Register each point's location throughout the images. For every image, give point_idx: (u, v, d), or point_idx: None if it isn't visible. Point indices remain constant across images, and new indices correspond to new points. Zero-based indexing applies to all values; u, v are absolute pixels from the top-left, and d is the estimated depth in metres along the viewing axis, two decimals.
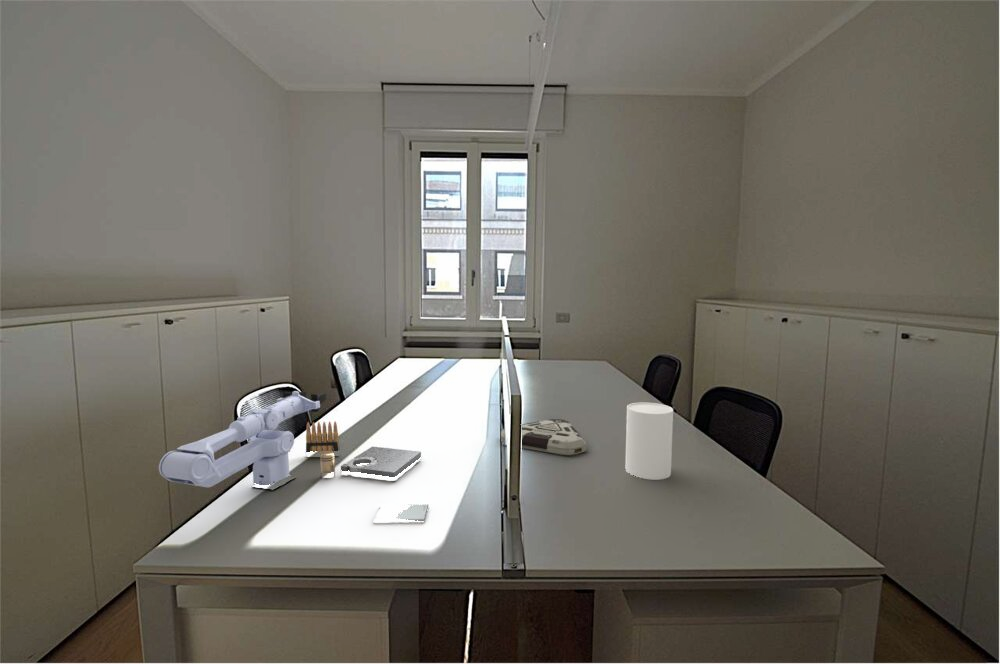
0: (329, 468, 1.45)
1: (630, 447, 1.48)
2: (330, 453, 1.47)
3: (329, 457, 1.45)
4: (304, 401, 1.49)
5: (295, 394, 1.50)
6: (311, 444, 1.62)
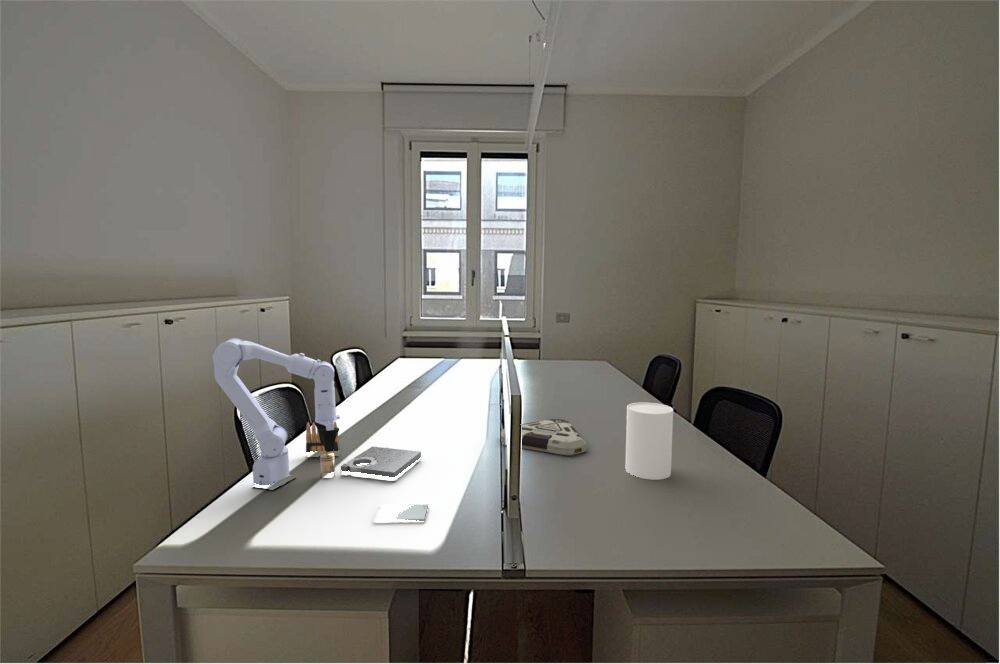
0: (329, 468, 1.45)
1: (630, 447, 1.48)
2: (330, 453, 1.47)
3: (329, 457, 1.45)
4: (331, 420, 1.43)
5: (336, 416, 1.47)
6: (311, 444, 1.62)
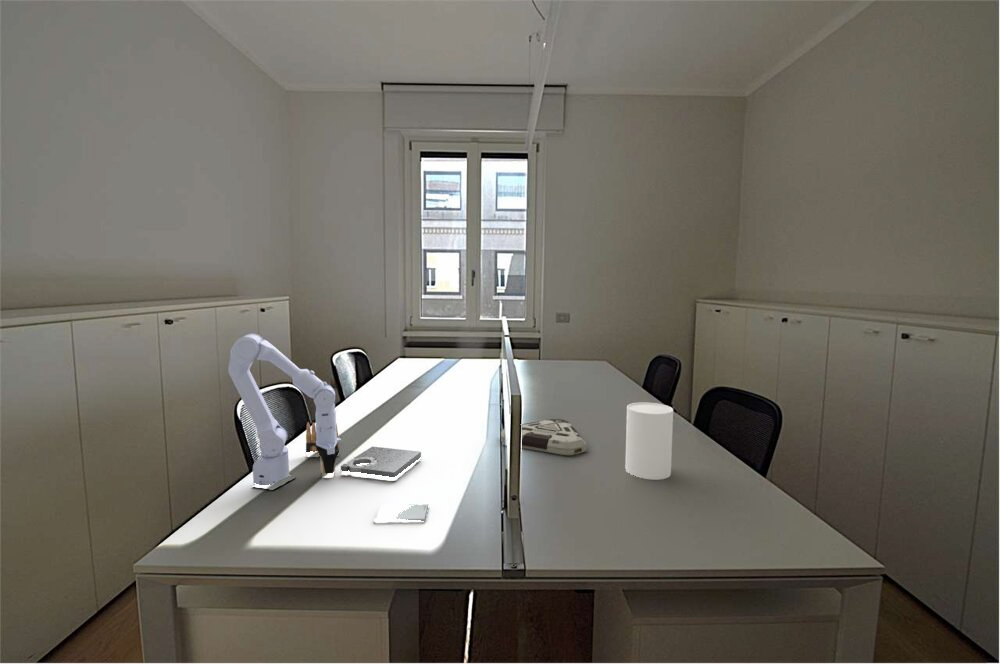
0: None
1: (630, 447, 1.48)
2: None
3: None
4: (332, 443, 1.44)
5: (337, 439, 1.47)
6: (311, 444, 1.62)
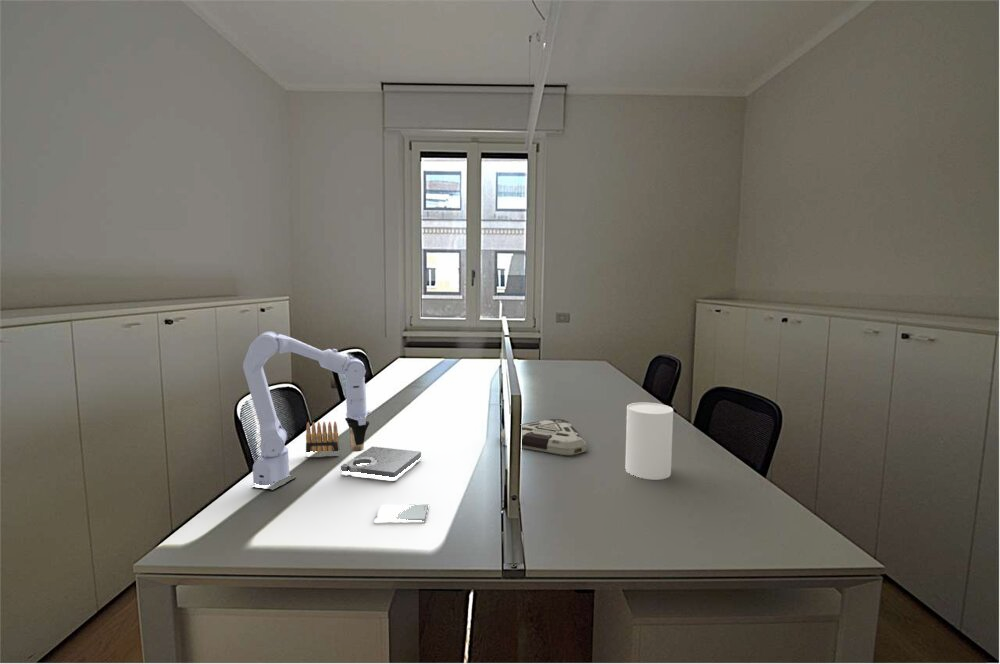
0: None
1: (630, 447, 1.48)
2: None
3: None
4: (362, 415, 1.46)
5: (367, 411, 1.50)
6: (311, 444, 1.62)
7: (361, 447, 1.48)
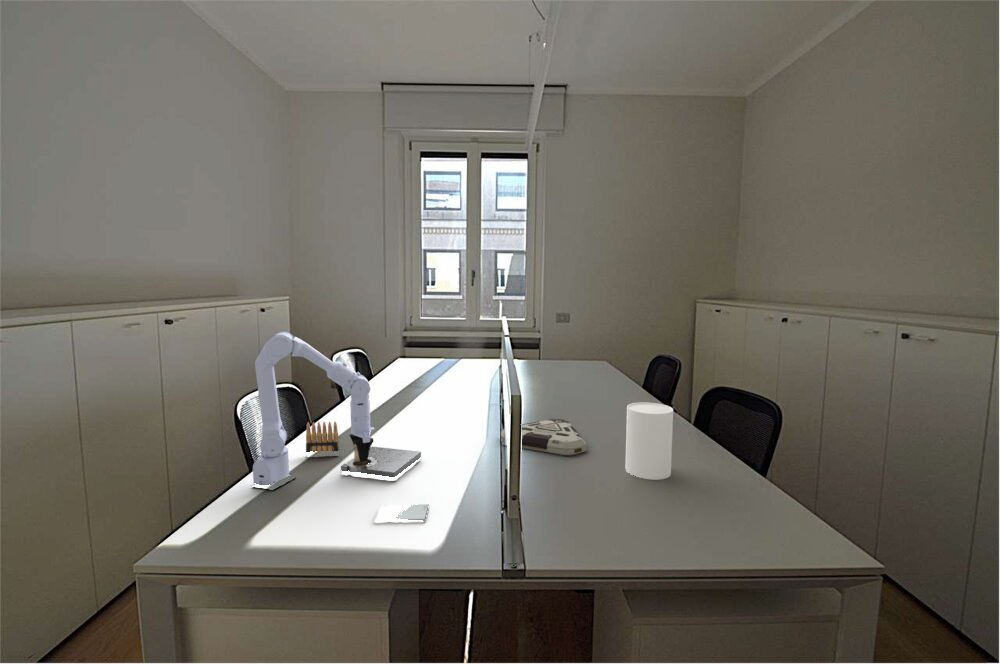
0: None
1: (630, 447, 1.48)
2: None
3: None
4: (366, 432, 1.47)
5: (371, 428, 1.51)
6: (311, 444, 1.62)
7: (365, 464, 1.49)
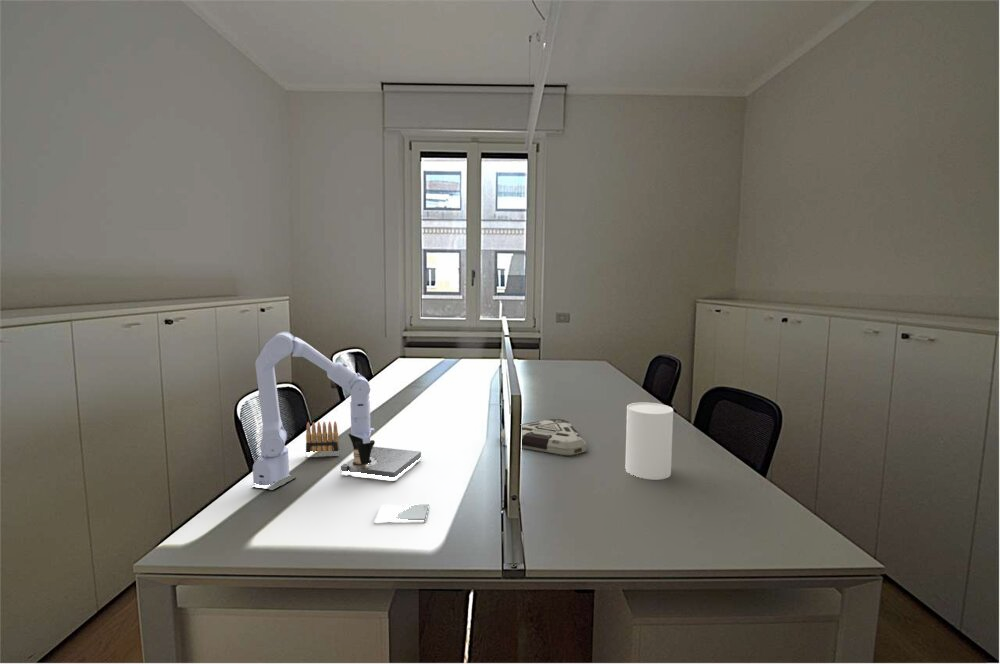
0: None
1: (630, 447, 1.48)
2: None
3: None
4: (366, 433, 1.47)
5: (371, 429, 1.51)
6: (311, 444, 1.62)
7: None
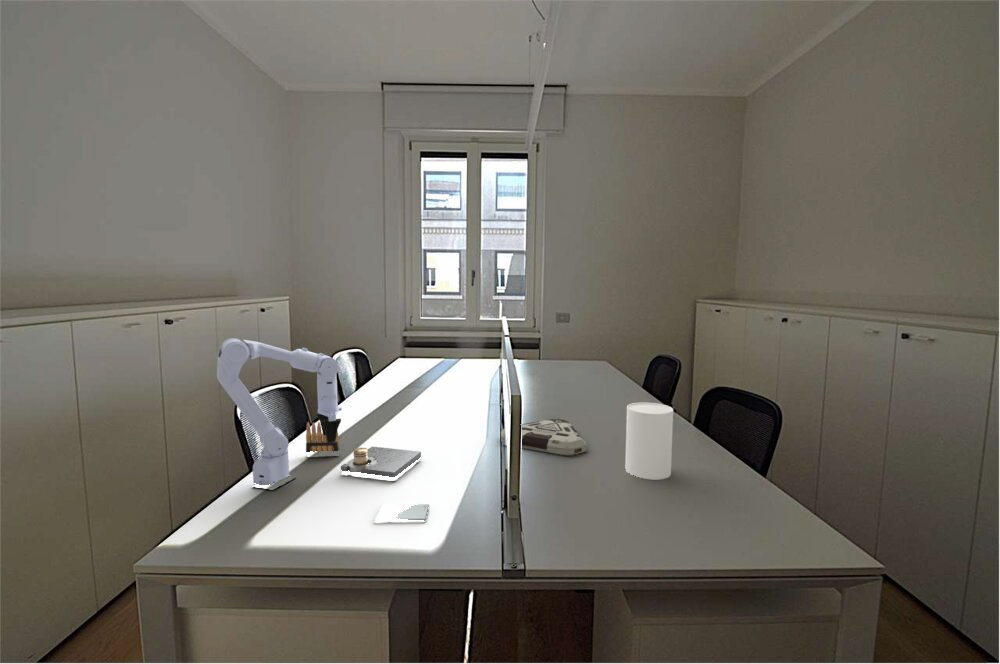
0: (362, 463, 1.49)
1: (630, 447, 1.48)
2: (363, 449, 1.50)
3: (362, 453, 1.48)
4: (333, 411, 1.48)
5: (338, 407, 1.51)
6: (311, 444, 1.62)
7: None
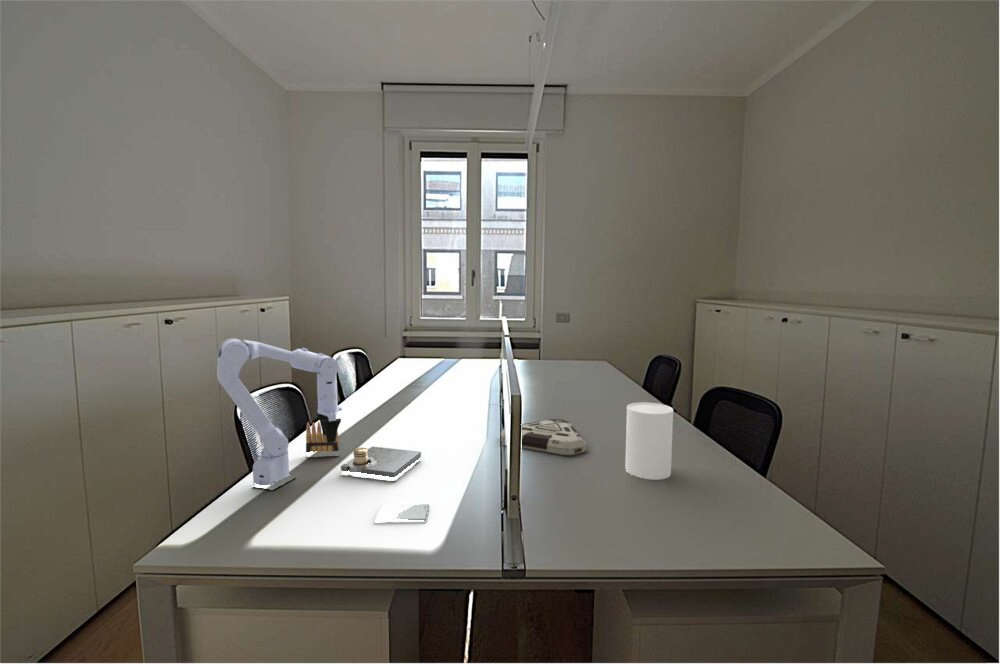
0: (362, 463, 1.49)
1: (630, 447, 1.48)
2: (363, 449, 1.50)
3: (362, 453, 1.48)
4: (333, 411, 1.48)
5: (338, 407, 1.51)
6: (311, 444, 1.62)
7: None
